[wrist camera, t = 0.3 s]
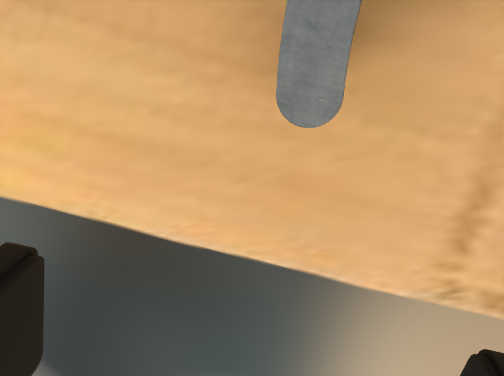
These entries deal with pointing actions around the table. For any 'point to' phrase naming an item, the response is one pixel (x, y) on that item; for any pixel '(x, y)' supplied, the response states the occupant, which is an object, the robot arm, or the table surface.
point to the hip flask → (314, 59)
